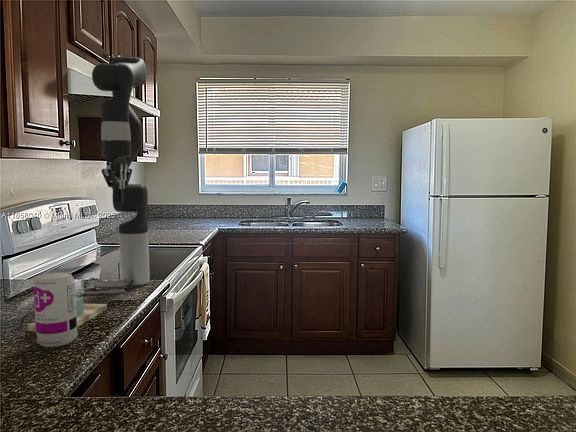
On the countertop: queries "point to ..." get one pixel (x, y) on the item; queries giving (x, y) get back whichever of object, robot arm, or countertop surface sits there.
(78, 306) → the block
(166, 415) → the countertop surface
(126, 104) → the robot arm
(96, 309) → the board
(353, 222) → the countertop surface
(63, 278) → the supplement can
